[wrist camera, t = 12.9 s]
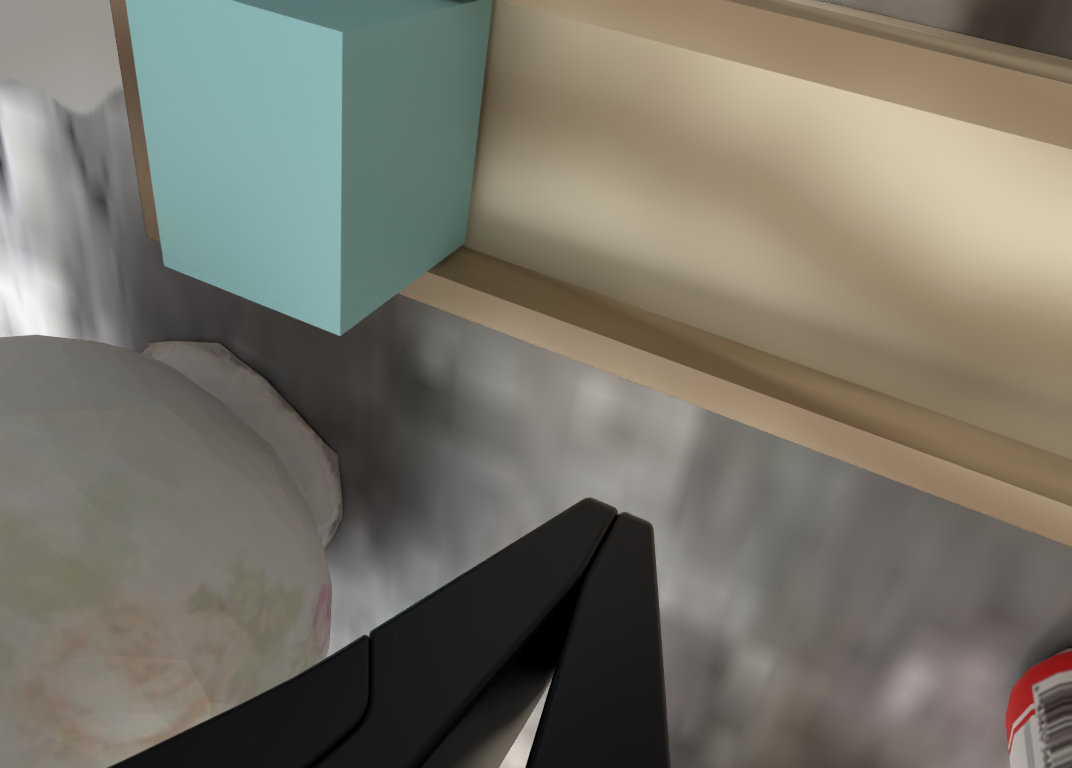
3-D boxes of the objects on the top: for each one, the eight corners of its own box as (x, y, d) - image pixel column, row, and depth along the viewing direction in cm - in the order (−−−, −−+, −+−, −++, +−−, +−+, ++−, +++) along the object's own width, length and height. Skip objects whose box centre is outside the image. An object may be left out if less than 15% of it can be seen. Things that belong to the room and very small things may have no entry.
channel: (1189, 513, 19) (1256, 671, 15) (264, 185, 26) (146, 237, 22) (1517, 164, 14) (1747, 269, 10) (246, -134, 20) (87, -142, 17)
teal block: (465, 242, 22) (340, 336, 17) (318, 191, 23) (163, 265, 18) (493, -3, 18) (342, 32, 13) (315, -50, 19) (120, -32, 15)
